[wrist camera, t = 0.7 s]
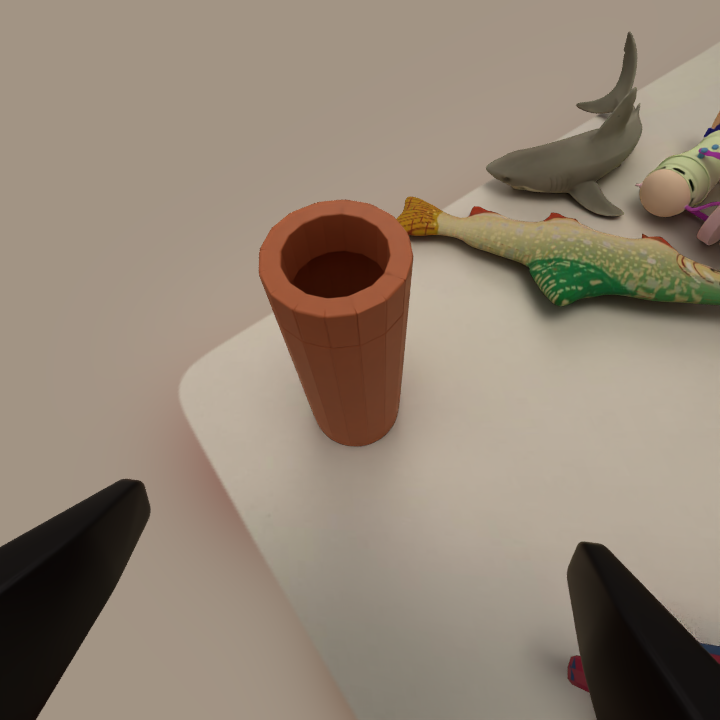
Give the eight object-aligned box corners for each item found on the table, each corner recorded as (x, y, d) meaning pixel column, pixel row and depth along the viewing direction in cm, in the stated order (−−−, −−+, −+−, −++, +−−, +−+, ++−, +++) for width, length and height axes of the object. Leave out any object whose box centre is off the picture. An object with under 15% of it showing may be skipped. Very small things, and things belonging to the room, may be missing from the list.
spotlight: (703, 140, 38) (753, 49, 31) (800, 187, 34) (881, 94, 27) (599, 212, 37) (627, 134, 30) (685, 269, 33) (739, 193, 26)
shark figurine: (447, 146, 39) (459, 58, 33) (600, 97, 41) (641, 6, 35) (530, 253, 33) (566, 171, 26) (707, 190, 35) (781, 99, 28)
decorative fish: (751, 272, 31) (766, 376, 25) (414, 201, 38) (370, 271, 32) (783, 237, 28) (807, 344, 23) (416, 169, 35) (369, 238, 30)
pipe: (385, 456, 25) (389, 332, 13) (302, 433, 26) (232, 296, 14) (407, 379, 28) (427, 213, 15) (330, 360, 29) (291, 189, 16)
